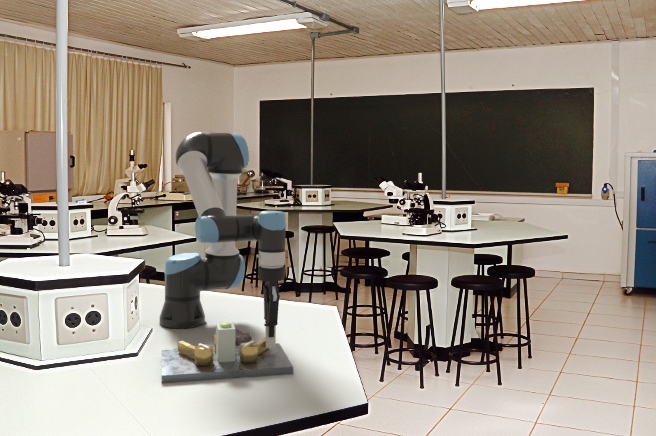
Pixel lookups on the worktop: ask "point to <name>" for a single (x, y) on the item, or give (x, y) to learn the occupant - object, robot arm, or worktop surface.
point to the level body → (225, 342)
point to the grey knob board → (223, 366)
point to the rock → (240, 337)
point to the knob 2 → (251, 350)
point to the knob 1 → (197, 352)
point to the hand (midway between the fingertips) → (270, 347)
